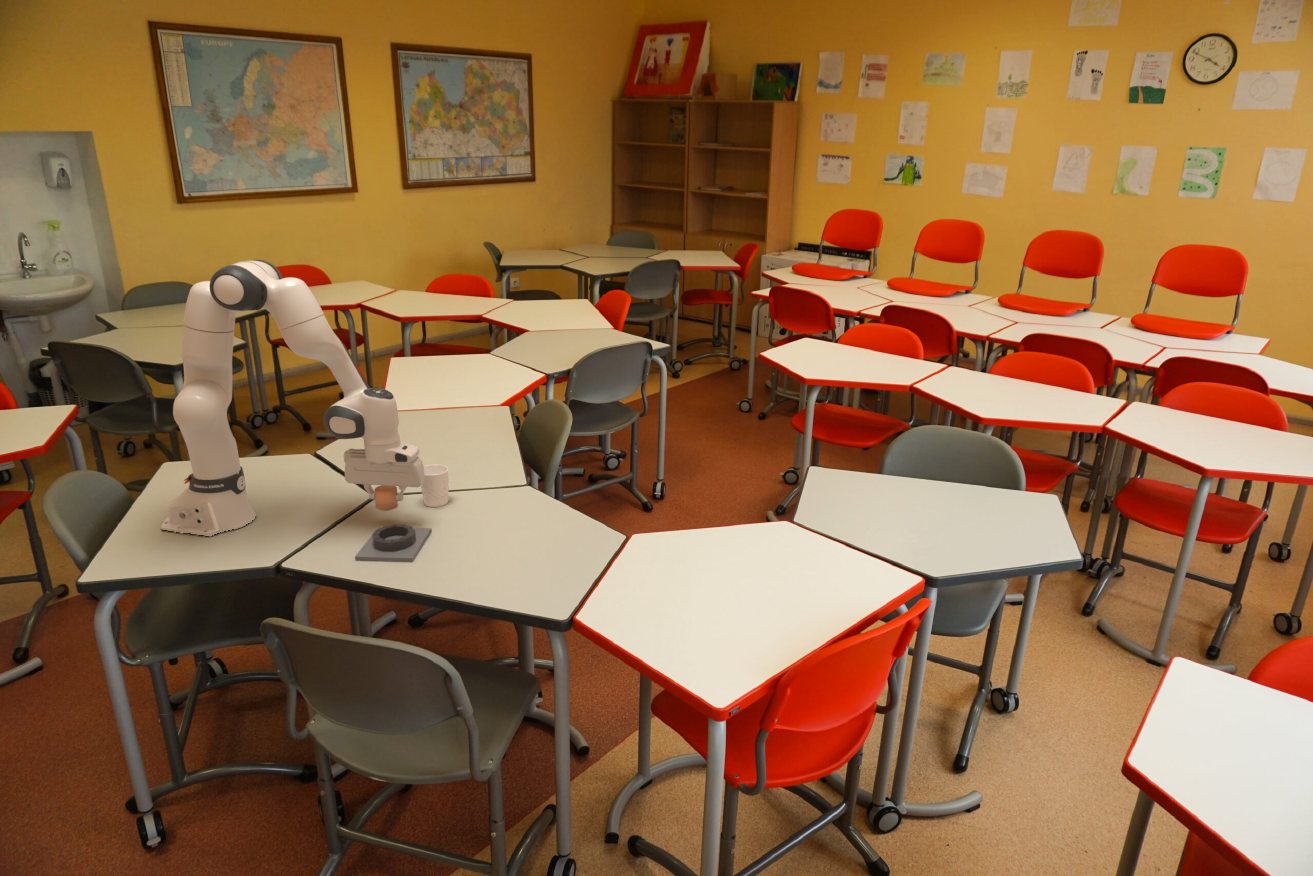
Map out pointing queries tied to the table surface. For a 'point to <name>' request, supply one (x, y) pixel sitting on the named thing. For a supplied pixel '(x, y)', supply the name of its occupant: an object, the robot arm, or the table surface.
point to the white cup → (435, 485)
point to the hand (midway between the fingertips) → (386, 499)
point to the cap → (386, 497)
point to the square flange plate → (394, 543)
